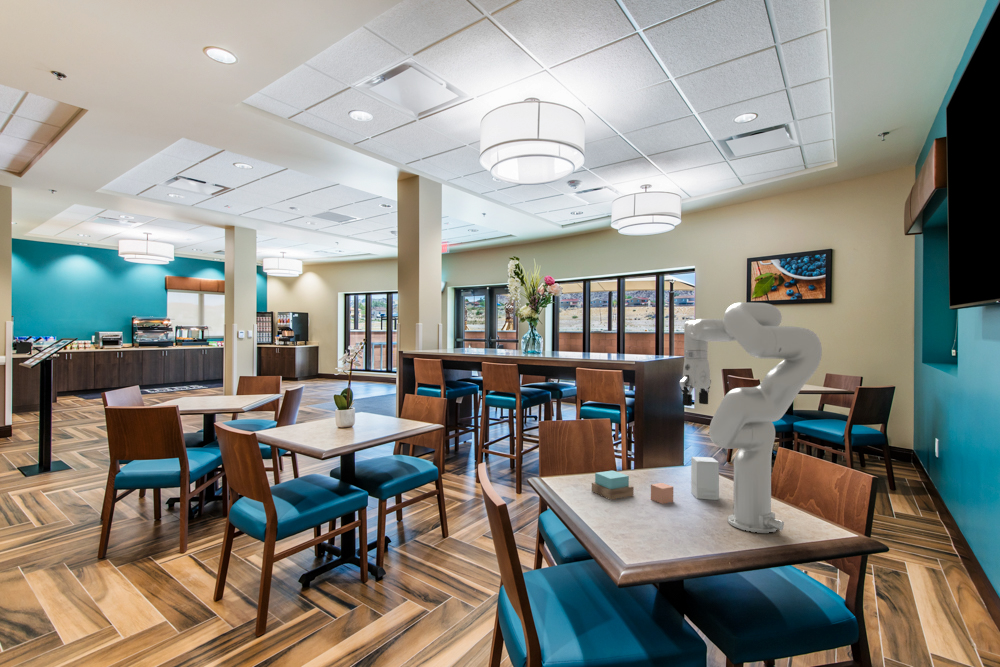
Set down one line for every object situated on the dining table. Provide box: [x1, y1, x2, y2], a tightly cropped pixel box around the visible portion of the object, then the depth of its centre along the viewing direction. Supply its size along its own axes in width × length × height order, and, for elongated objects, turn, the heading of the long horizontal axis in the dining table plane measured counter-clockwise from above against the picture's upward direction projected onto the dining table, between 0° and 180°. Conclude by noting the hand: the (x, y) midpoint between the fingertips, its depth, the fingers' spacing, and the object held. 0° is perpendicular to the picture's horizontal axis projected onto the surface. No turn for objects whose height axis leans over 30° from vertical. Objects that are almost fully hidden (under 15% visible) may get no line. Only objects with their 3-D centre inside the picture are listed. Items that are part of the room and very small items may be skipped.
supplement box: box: [690, 456, 720, 501], centre depth 160 cm, size 7×7×13 cm
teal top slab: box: [594, 470, 630, 489], centre depth 162 cm, size 8×8×4 cm
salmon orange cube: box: [650, 482, 674, 505], centre depth 155 cm, size 5×5×5 cm
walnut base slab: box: [591, 481, 635, 500], centre depth 162 cm, size 10×10×4 cm
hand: (695, 404), depth 164 cm, fingers open, 9 cm apart
